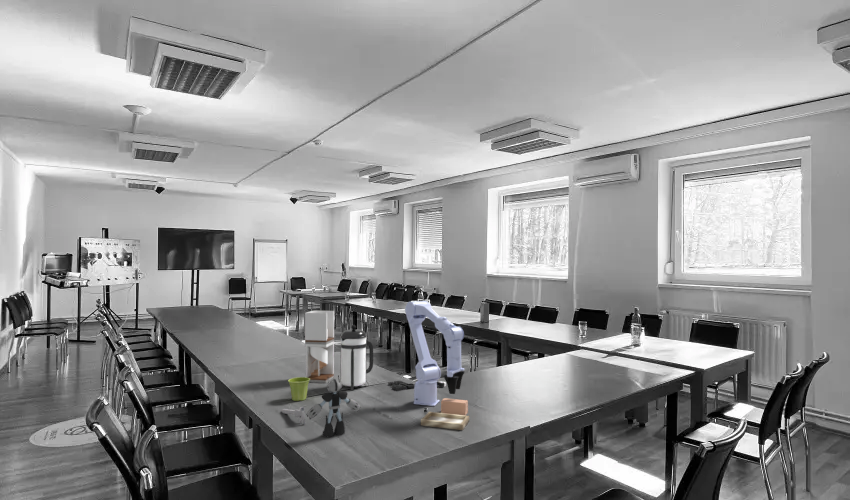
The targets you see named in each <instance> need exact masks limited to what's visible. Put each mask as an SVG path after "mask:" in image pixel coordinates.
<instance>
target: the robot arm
mask: <svg viewBox="0 0 850 500" xmlns="http://www.w3.org/2000/svg"><path fill="white" fill-rule="evenodd" d="M404 311H405V315H406V319H407V322H408V326H409V329H410V333H411V336H412V340H413V345H414V347H415V351H416V354H417V359H418V361H417V364H416V365H415V377H416V379H417V381H415V382H414V384H415V386H414V389H413V405H421V406H430V407H435V406H436V405H438V403H439V402H441V400H440V399H438V391H437V390H438V388H437V387H438V386H437V382H439V380H440V379H441V376H442V371H441V369H440V368H441V367H440V366H438V362H437V361H436V359H433V358H432V357H431V354H430V350H429V346H428V343H427V339H426V336H425V332H424V329H423V325H422V323H423V322H424V321H425V319H426V318H428V319H429V320H430V321H431V322H432V323H434V328H435V329H436V330H438V331H439V332H440V333H441V334H442V335H443V339H444V341H445V345H446V362H447V363H446V364H447V366H446V374H445V375H444V376H443V378H444V381H445V382H446V386H447V388H448V392H449V394H450V395H456V390H460V389H461V386H462V380H463V377H464V374H465V368H464V367H462V341H463V339H465V338H464V337H465V332H464V330H463V328H462V327H461V326H460V325H458V326H456V325H455V324H454V323H453V322H451V321H450V320H448V317H446V316H441V315H439V314H438V313H437V312H436V311H435V310H434V309H433V308H432V304H431V303H430V302H429V301H427V300H418V301H417V300H416V301H408V302H407V303H406V305H405V308H404Z"/></svg>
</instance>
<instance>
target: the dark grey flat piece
mask: <svg viewBox="0 0 850 500" xmlns="http://www.w3.org/2000/svg"><path fill="white" fill-rule="evenodd" d="M387 383H388V384H387V385H388V386H389V387H391V388H392V389H393V390H394V391H396V392H401V391H405V390H407V389H413V388H414V386H415V383H411V382H410V383H407V382H404V381H402V380H397V381H396V380H394V381H389V382H387ZM446 386H447V382H446V381H438V382H437V387H439V388H444V387H446Z"/></svg>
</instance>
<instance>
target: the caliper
mask: <svg viewBox="0 0 850 500" xmlns="http://www.w3.org/2000/svg"><path fill="white" fill-rule="evenodd" d="M280 412H281V413H282V414H286V415H292V416H293V415H294V418H298V420H299V424H300V425H302V426H303V425H306V413H305V412H306V411H305V409H304V407H303V406H301V407H299V409H287V408H283V409H281V411H280Z"/></svg>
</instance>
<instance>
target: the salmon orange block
mask: <svg viewBox="0 0 850 500" xmlns="http://www.w3.org/2000/svg"><path fill="white" fill-rule="evenodd" d="M440 413H446V414H456V415H465V416H467V414H468V413H469V400H465V399H456V398H447V397H446V398H442V400H440Z"/></svg>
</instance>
